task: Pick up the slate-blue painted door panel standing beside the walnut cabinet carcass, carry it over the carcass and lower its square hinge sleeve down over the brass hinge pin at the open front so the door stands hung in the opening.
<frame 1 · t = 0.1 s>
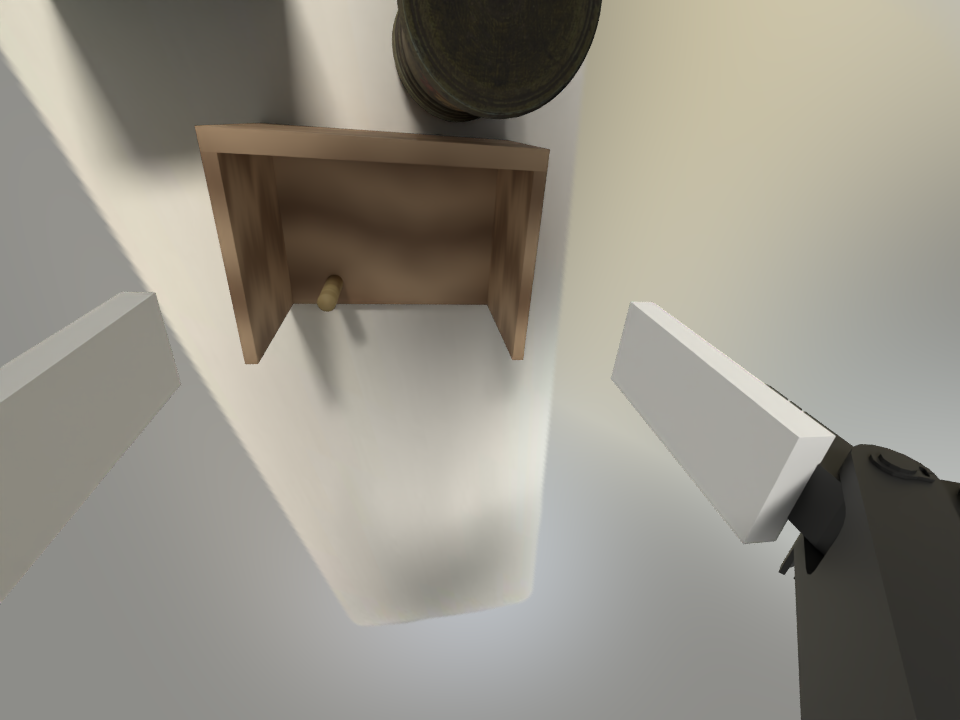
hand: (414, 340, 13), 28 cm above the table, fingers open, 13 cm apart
cabinet: (391, 223, 38), on the table
container: (455, 54, 33), on the table
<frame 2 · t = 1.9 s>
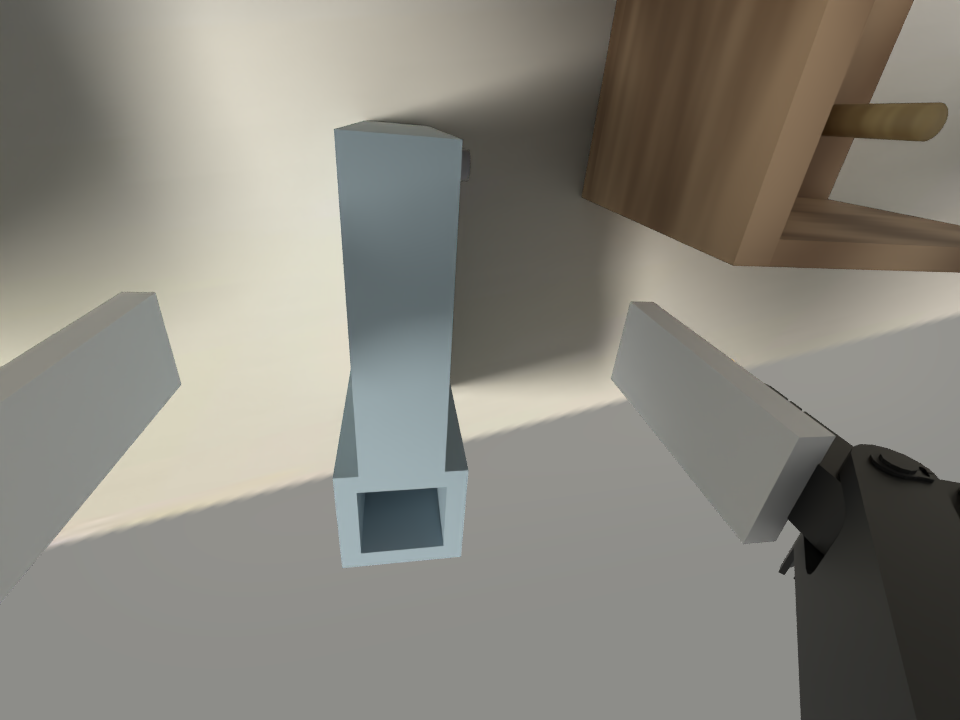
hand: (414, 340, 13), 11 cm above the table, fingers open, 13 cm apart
door: (399, 358, 26), on the table
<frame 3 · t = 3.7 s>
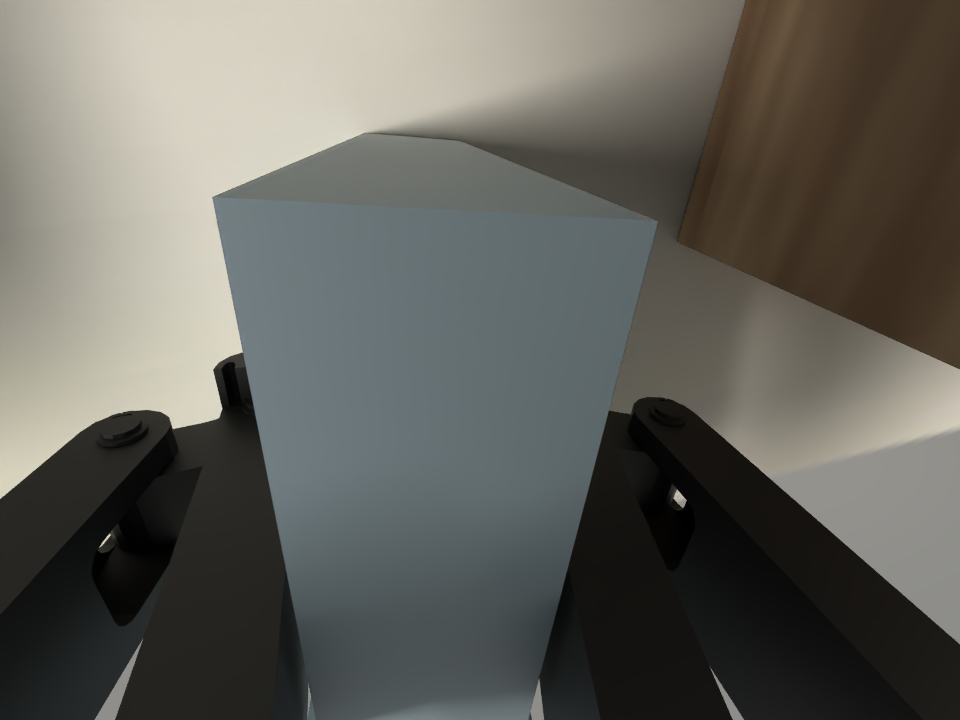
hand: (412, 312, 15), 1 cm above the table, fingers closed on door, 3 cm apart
door: (411, 454, 19), on the table, touching gripper
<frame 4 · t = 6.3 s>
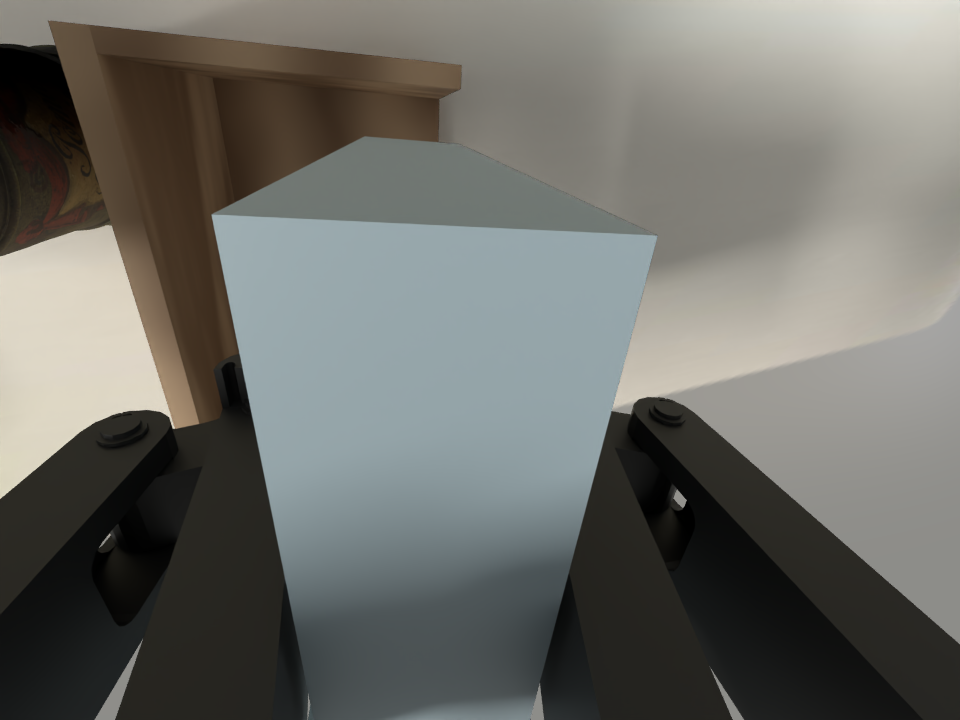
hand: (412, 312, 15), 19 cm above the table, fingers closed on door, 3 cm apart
cabinet: (334, 233, 31), on the table
container: (111, 140, 27), on the table
door: (411, 456, 19), point 18 cm above the table, touching gripper
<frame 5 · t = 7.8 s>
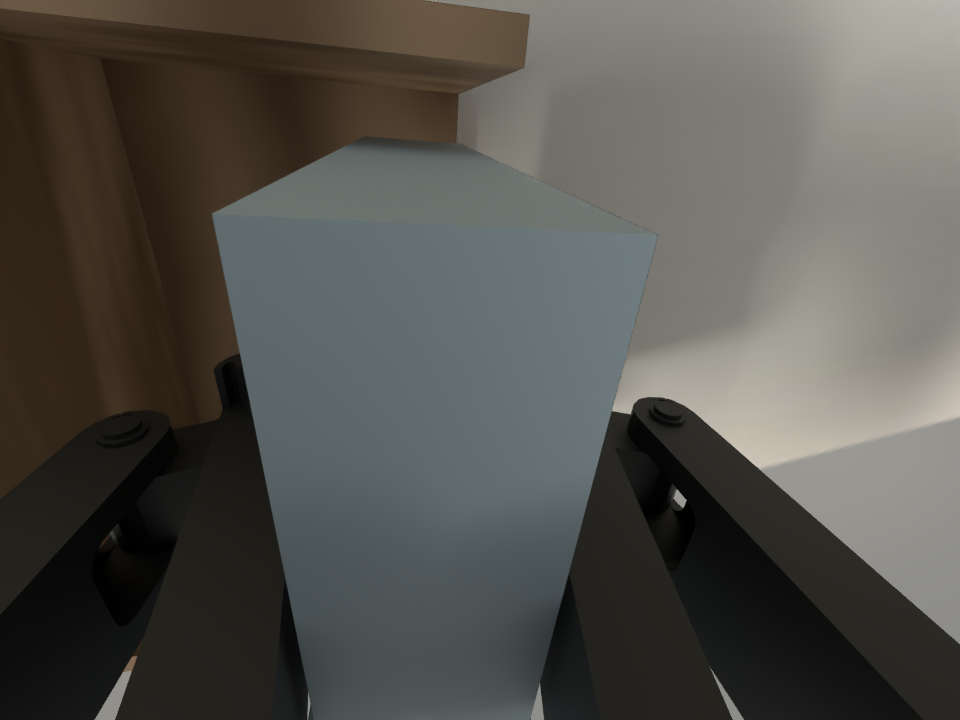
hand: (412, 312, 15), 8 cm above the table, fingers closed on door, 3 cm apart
cabinet: (304, 287, 22), on the table
door: (411, 456, 19), point 7 cm above the table, touching gripper
when the fingers open (3 cm above the table, at t = 9.0 s): door stays where it is, resting on cabinet.
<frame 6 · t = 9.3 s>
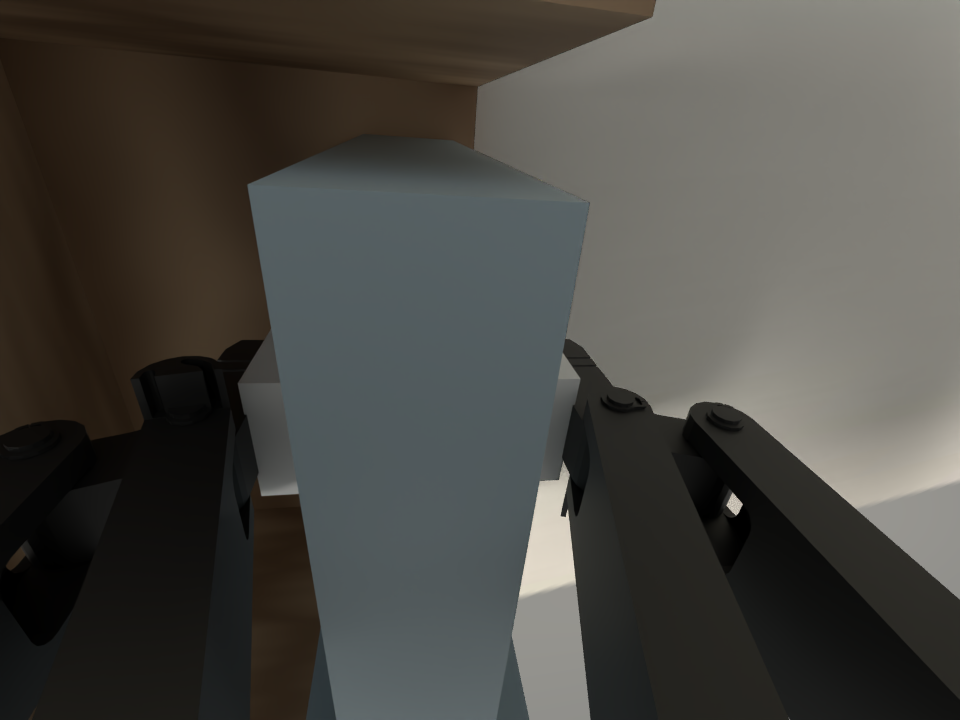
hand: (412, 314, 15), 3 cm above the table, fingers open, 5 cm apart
cabinet: (282, 328, 17), on the table
door: (410, 440, 20), point 1 cm above the table, touching cabinet
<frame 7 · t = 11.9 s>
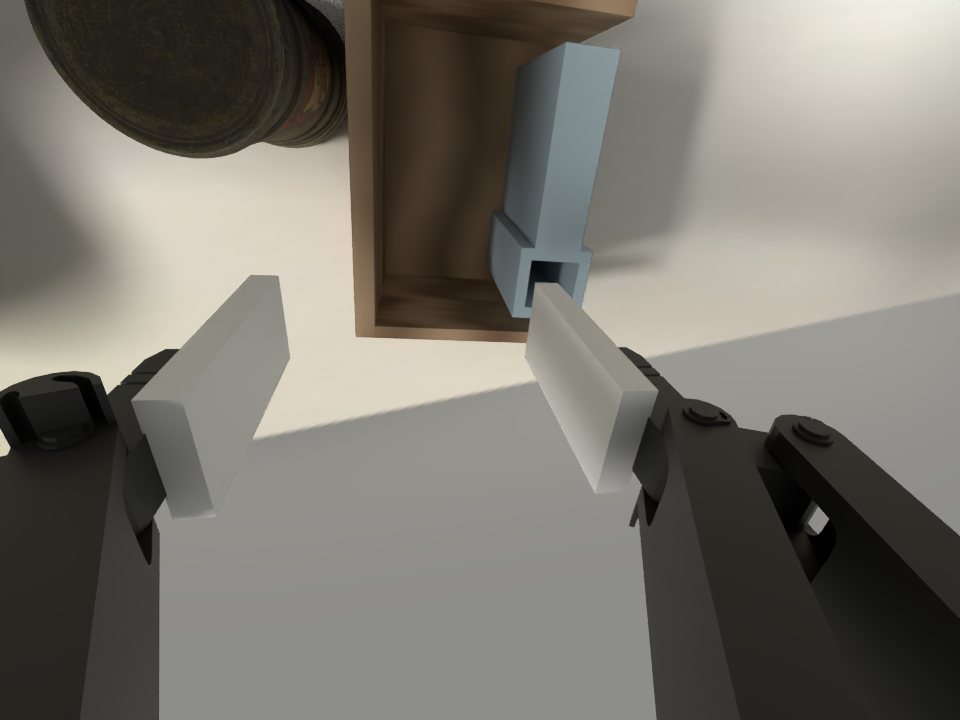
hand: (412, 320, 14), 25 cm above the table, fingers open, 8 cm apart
cabinet: (459, 169, 35), on the table
container: (290, 75, 31), on the table
door: (514, 239, 38), point 1 cm above the table, touching cabinet
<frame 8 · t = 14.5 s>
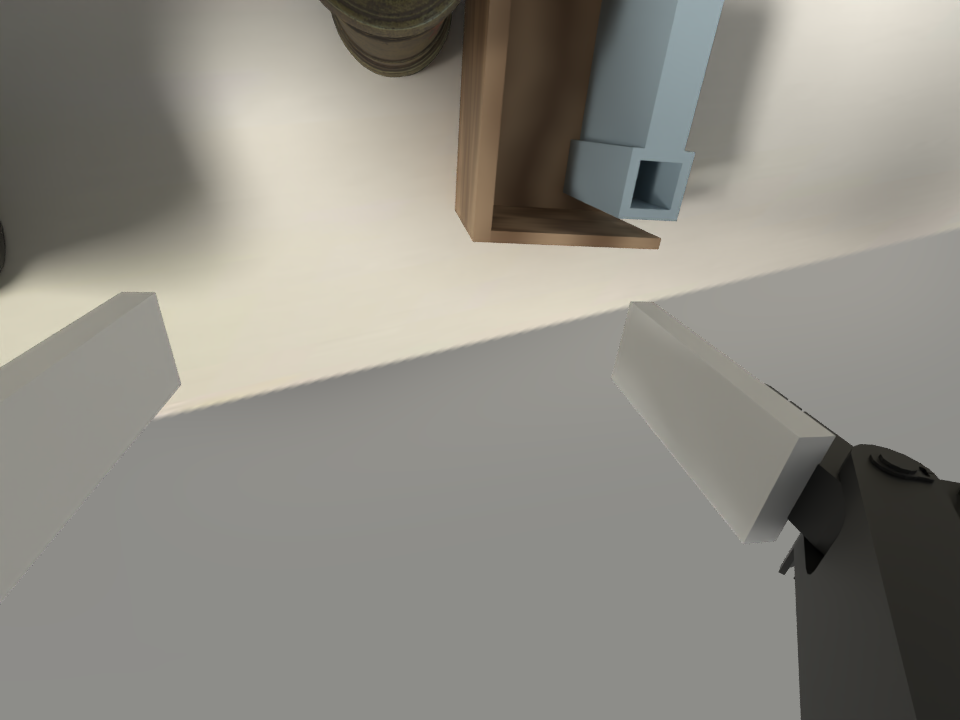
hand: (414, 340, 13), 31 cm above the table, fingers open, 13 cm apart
cabinet: (542, 98, 38), on the table
container: (392, 6, 33), on the table
door: (589, 168, 40), point 1 cm above the table, touching cabinet
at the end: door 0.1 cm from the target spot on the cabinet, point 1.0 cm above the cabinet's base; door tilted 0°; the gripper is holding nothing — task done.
